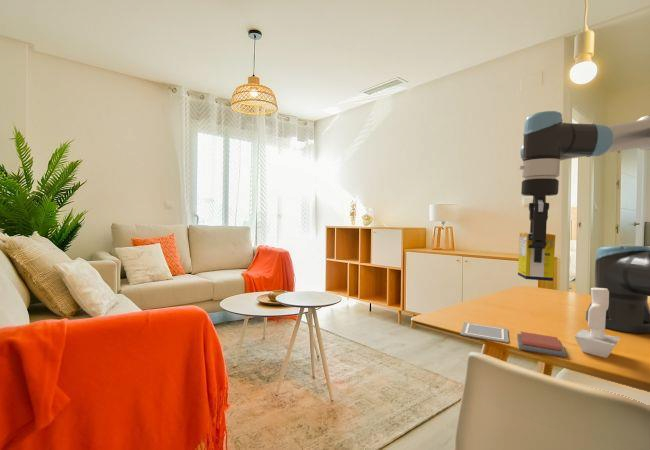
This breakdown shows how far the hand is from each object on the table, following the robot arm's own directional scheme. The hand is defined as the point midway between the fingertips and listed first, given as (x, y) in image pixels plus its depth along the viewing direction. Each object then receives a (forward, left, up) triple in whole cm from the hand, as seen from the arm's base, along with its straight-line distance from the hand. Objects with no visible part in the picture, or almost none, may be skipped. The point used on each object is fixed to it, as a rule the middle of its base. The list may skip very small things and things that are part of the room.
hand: (535, 273), depth 82 cm
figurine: (-13, -1, -17) cm, 22 cm away
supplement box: (0, 0, -1) cm, 1 cm away
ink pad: (-1, +2, -17) cm, 17 cm away
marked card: (+11, -3, -17) cm, 20 cm away
